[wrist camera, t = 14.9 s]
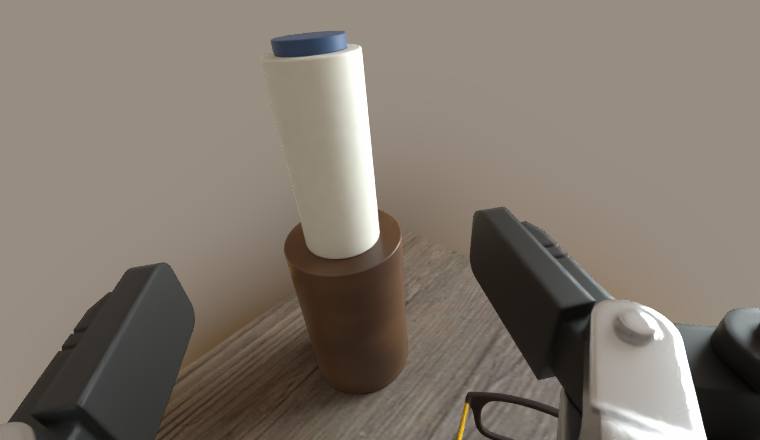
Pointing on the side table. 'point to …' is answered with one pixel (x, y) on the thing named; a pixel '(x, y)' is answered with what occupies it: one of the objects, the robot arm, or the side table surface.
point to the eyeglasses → (481, 398)
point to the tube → (325, 139)
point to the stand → (354, 309)
